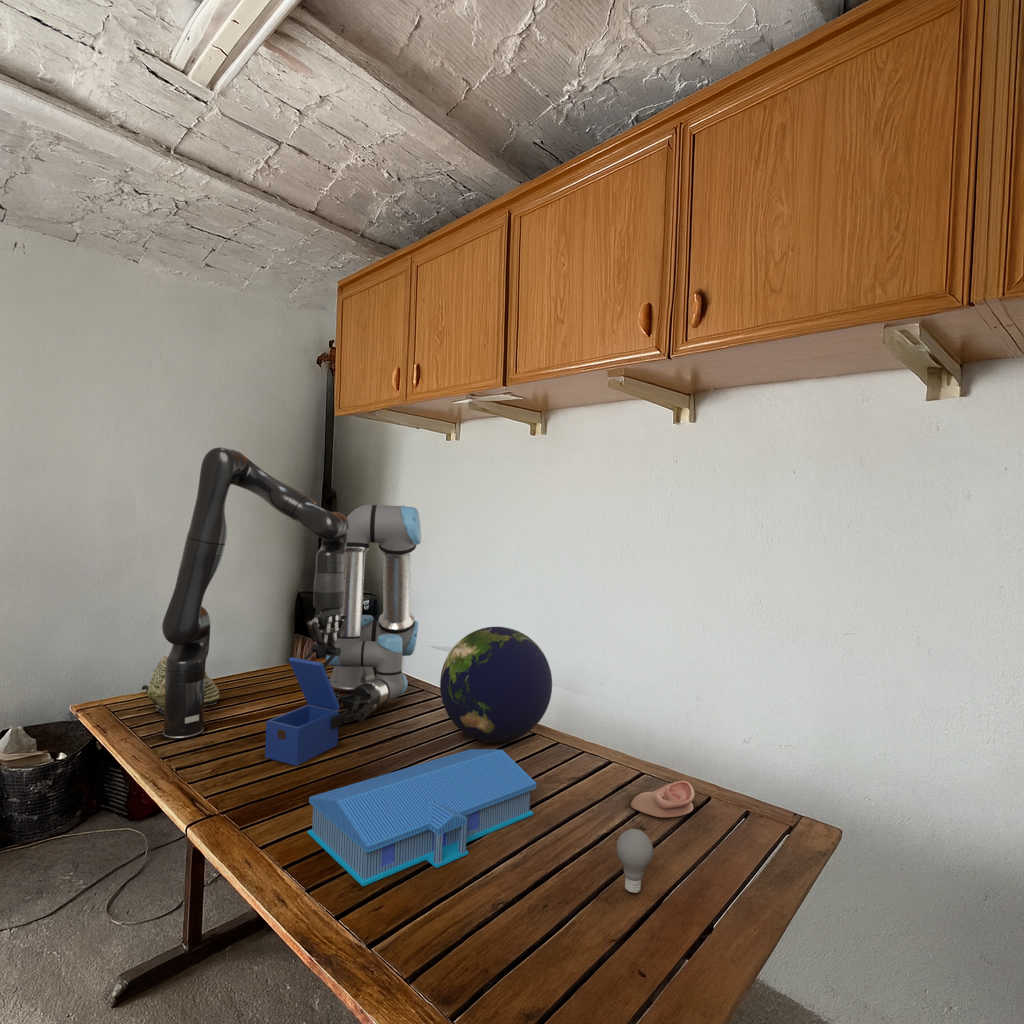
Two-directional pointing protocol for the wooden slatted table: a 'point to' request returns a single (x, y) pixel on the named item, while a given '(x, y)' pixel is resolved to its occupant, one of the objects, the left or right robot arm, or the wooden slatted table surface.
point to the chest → (300, 734)
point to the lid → (316, 678)
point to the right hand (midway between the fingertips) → (315, 719)
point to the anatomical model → (666, 800)
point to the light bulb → (634, 857)
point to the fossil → (158, 687)
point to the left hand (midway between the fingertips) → (326, 655)
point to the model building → (420, 812)
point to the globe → (496, 684)
